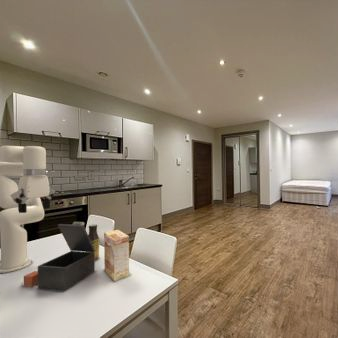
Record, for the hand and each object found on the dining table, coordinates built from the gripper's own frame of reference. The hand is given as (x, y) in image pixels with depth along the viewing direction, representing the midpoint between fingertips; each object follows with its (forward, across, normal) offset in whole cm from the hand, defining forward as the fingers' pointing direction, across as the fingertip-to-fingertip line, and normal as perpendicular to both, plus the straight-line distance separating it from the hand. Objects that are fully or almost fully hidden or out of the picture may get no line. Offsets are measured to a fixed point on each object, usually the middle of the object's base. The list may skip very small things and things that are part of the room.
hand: (35, 210), depth 88 cm
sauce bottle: (+34, -23, +8) cm, 41 cm away
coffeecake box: (+34, -12, +31) cm, 48 cm away
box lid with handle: (+16, -8, +13) cm, 22 cm away
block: (+33, +1, 0) cm, 33 cm away
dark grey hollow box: (+33, -4, +13) cm, 36 cm away
